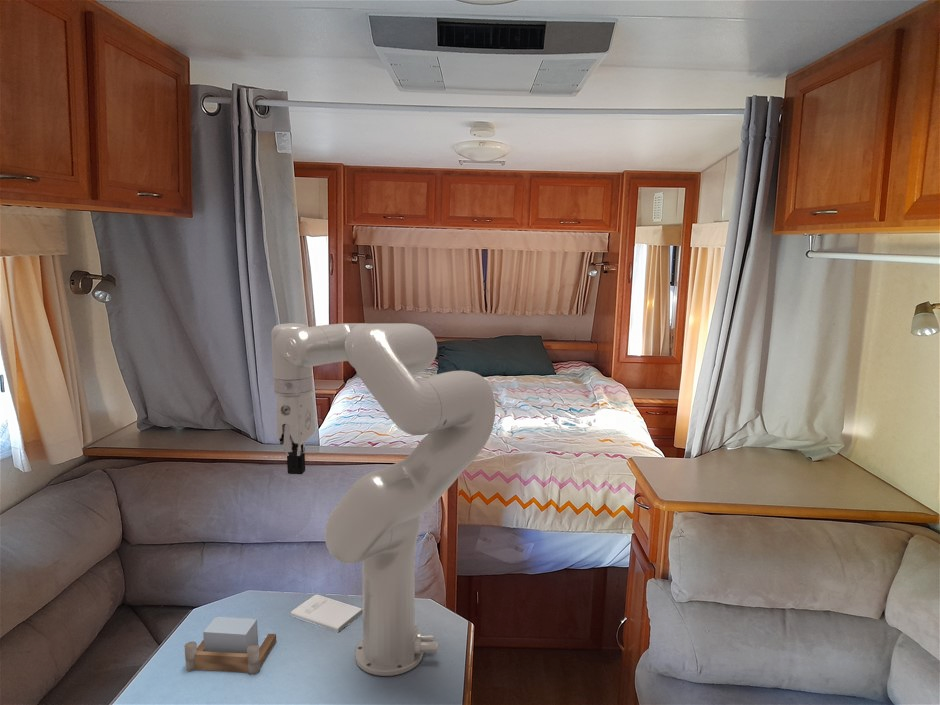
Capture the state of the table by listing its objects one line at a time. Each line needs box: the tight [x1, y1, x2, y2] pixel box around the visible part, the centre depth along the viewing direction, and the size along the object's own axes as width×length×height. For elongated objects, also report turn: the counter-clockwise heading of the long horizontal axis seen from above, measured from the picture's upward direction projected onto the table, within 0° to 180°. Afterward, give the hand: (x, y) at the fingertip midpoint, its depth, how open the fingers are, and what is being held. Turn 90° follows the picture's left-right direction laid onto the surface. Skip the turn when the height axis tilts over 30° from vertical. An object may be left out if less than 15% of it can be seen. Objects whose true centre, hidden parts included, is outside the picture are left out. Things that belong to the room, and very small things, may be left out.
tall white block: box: [202, 616, 259, 654], centre depth 123 cm, size 8×5×6 cm, turn 85°
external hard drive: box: [290, 594, 363, 633], centre depth 137 cm, size 2×8×12 cm
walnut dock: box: [183, 633, 277, 675], centre depth 122 cm, size 14×10×4 cm
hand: (296, 472), depth 136 cm, fingers closed
